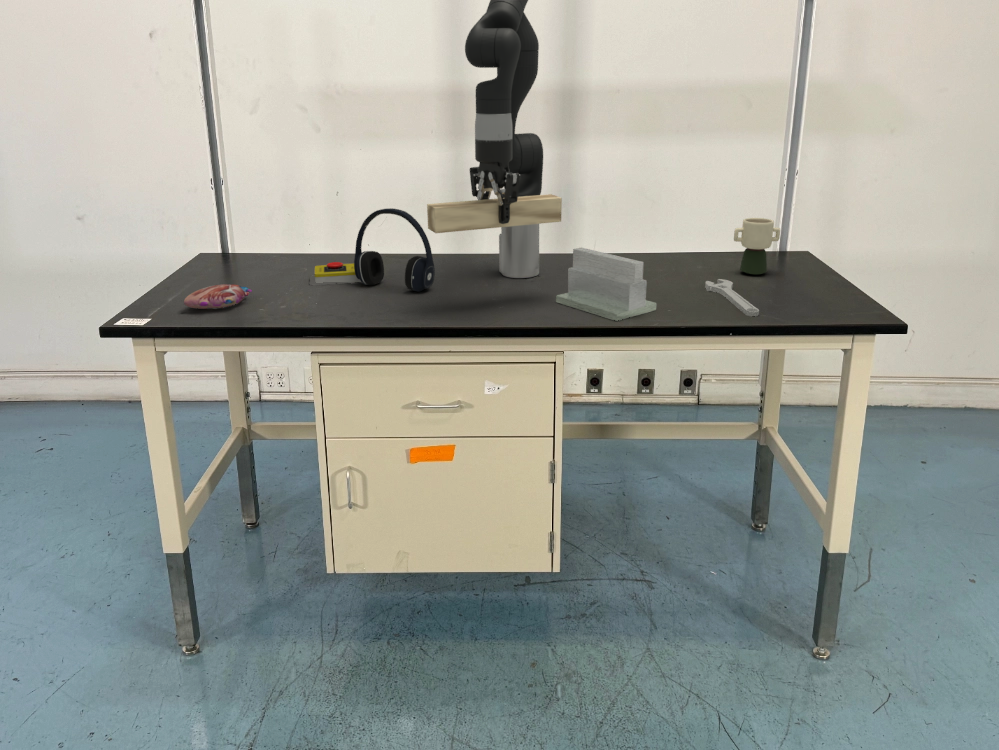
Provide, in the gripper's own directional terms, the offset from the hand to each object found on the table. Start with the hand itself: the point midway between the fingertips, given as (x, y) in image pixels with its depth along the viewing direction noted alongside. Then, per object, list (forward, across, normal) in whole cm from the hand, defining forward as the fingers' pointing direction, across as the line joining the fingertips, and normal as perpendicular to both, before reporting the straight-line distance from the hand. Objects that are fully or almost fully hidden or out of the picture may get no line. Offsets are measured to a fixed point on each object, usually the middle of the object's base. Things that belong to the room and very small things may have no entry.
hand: (494, 220), depth 167 cm
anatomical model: (+19, +39, +46) cm, 63 cm away
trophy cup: (+18, -20, -64) cm, 70 cm away
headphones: (+19, +26, +9) cm, 34 cm away
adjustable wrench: (+18, -30, -42) cm, 54 cm away
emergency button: (+19, +41, +15) cm, 48 cm away
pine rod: (+1, 0, 0) cm, 1 cm away
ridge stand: (+18, -16, -17) cm, 30 cm away
